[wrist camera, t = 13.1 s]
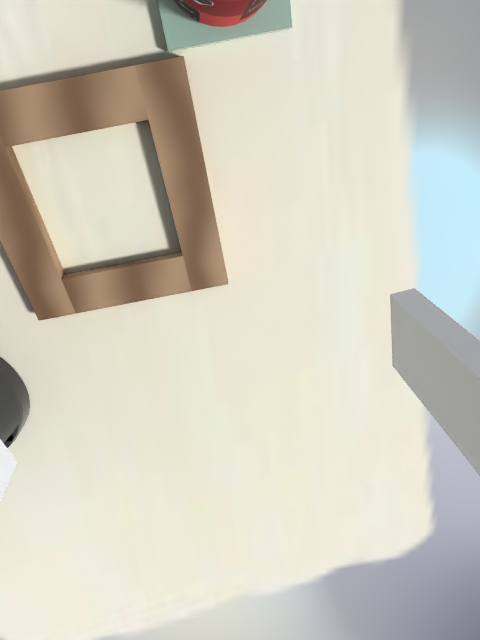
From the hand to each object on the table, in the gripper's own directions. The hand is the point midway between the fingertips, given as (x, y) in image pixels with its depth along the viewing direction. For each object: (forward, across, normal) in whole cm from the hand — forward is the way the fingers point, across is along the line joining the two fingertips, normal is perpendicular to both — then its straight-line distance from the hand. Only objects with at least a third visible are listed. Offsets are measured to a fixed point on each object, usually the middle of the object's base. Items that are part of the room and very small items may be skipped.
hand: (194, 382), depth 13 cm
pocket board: (+25, -7, +2) cm, 26 cm away
